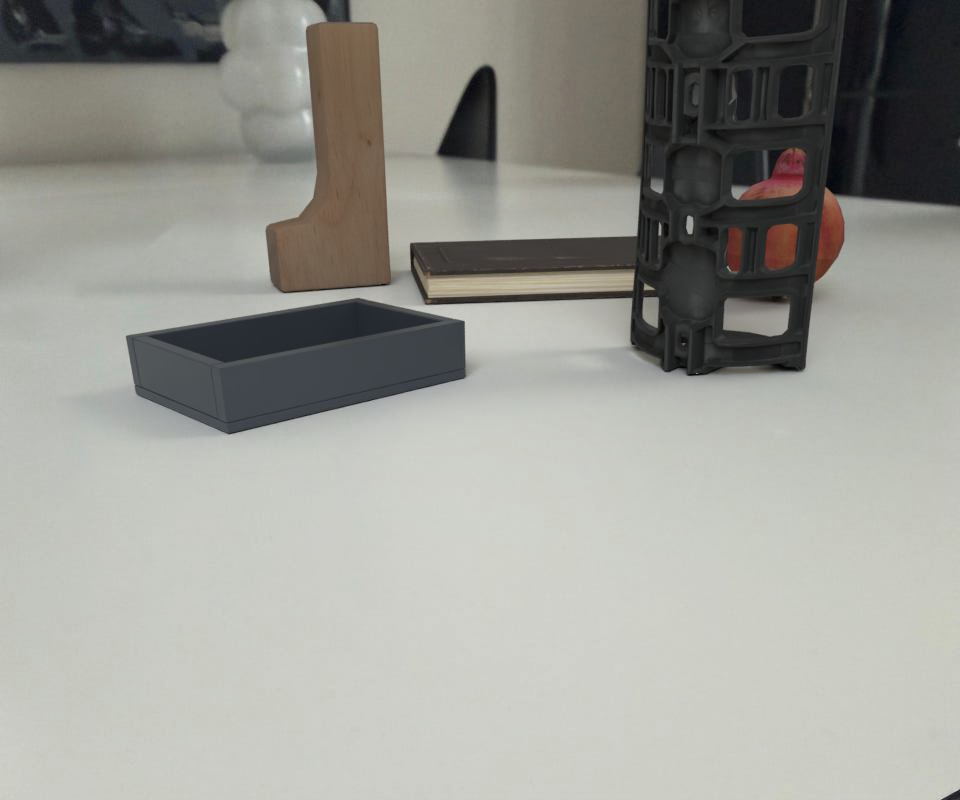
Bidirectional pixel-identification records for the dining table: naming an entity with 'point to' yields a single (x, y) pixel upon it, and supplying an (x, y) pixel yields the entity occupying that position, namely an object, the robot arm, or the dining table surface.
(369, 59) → the wooden block
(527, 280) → the hardcover book
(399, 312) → the tray
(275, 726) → the dining table surface
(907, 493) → the dining table surface
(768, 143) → the holder
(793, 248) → the fruit
